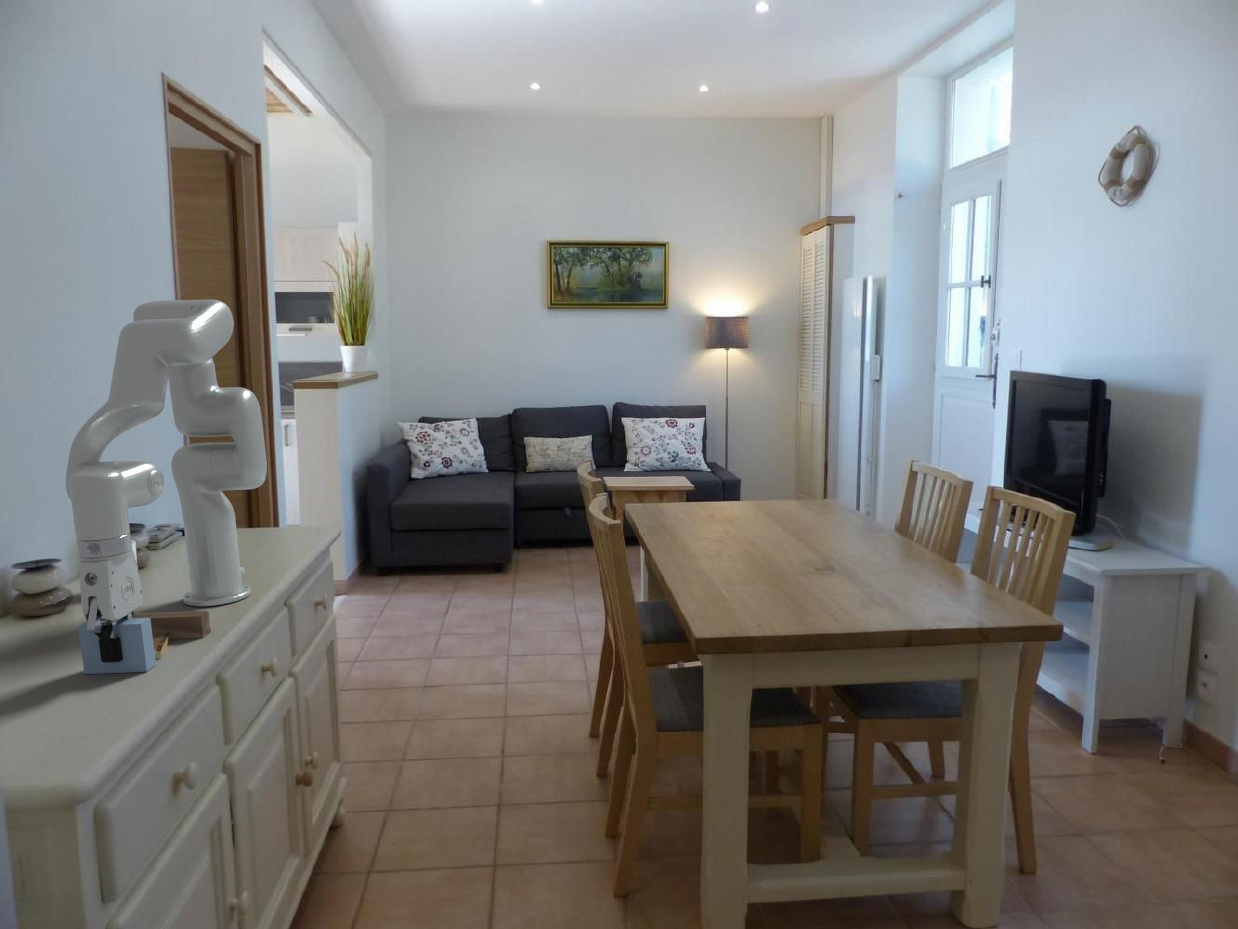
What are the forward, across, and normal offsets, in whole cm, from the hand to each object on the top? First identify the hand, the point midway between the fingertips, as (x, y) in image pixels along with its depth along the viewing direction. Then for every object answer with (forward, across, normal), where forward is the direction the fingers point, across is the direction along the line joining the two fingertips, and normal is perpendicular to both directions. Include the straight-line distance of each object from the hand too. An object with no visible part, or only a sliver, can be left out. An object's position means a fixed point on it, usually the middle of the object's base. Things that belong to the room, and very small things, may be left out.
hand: (118, 656), depth 148 cm
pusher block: (+2, 0, 0) cm, 2 cm away
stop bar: (+2, +15, 0) cm, 16 cm away
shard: (+3, +7, 0) cm, 8 cm away
